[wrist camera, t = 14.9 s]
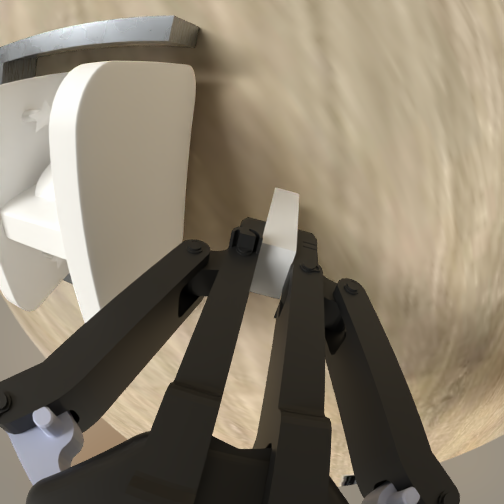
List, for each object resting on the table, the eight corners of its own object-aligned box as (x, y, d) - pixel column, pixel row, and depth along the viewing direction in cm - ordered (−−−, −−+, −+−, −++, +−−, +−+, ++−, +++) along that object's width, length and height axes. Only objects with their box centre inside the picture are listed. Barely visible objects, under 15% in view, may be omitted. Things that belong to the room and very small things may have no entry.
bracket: (199, 27, 14) (174, 15, 11) (168, 283, 26) (151, 313, 22) (29, 44, 14) (-3, 48, 11) (38, 238, 26) (15, 258, 23)
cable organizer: (187, 258, 24) (123, 373, 14) (86, 232, 24) (6, 313, 15) (206, 66, 15) (85, 60, 6) (80, 69, 16) (-47, 96, 6)
